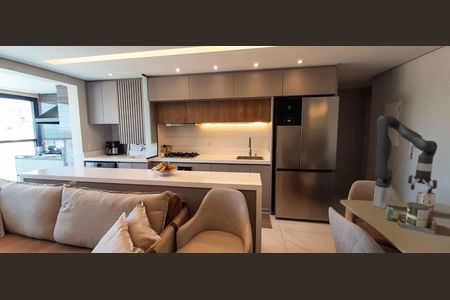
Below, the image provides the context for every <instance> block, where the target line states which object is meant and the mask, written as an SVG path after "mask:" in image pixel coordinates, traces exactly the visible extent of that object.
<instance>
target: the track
mask: <svg viewBox="0 0 450 300" xmlns="http://www.w3.org/2000/svg"><path fill="white" fill-rule="evenodd" d="M396 214H397V215H402V216H406V215H407V214H404V213H399V212H396ZM403 223H404V222H401V223H400V225H399V227H400V228H404V229H408V230H413V231H417V232H422V233H426V234H430V235H435V234H436V231H435V230H431V229H430V228H428V229H426V228H422V227H417V226H412V225H408V224H406V223H405V224H403Z"/></svg>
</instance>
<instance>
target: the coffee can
mask: <svg viewBox="0 0 450 300" xmlns="http://www.w3.org/2000/svg"><path fill="white" fill-rule="evenodd" d="M406 207H407V208H406V214H405V215H406V219H405V224H409V225H414V226H419V227H423V228H427V227H428V225H427V219H428V212H429V207H428V206H426V205H424V204H420V203H416V202H413V201H412V202H407V206H406Z"/></svg>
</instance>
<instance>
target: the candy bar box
mask: <svg viewBox="0 0 450 300" xmlns="http://www.w3.org/2000/svg"><path fill="white" fill-rule="evenodd" d="M435 201H436V192H433V191H432V193H431V194H428V190H427V191H418V192H417V193H416V200H415V203H420V204H424V205H426V206H428V207H429V212H428V213H430V214H431V215H432V214H434V208H435Z"/></svg>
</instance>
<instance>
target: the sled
mask: <svg viewBox="0 0 450 300" xmlns="http://www.w3.org/2000/svg"><path fill="white" fill-rule="evenodd" d="M393 215H394V208H393V207H392V206H391V207H390V206H388V207H387V208H386V214H385V219H386V220H387V221H396V222H397V224H398V226H400V223H403V224H406V222H405V223H404V222H401V219H404V220H406V216H402V215H397V213H395V217H393ZM408 225H409V224H408ZM412 226H414V225H412ZM417 227H419V226H417ZM427 227H428V228H426V229H431V230H435V232H436V230H437V221H436V220H435V218H434V216H432V214H430V213H428V219H427ZM422 228H423V227H422Z"/></svg>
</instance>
